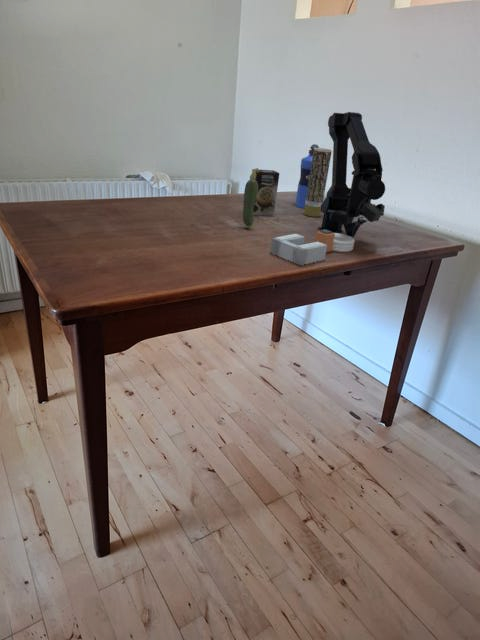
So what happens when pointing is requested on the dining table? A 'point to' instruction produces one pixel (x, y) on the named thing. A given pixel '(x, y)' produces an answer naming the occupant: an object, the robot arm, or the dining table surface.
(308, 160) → the water bottle
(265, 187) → the coffee box
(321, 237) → the orange cylinder
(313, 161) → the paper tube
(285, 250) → the housing
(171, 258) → the dining table surface
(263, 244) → the dining table surface
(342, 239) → the white round dish
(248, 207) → the vegetable
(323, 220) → the robot arm
